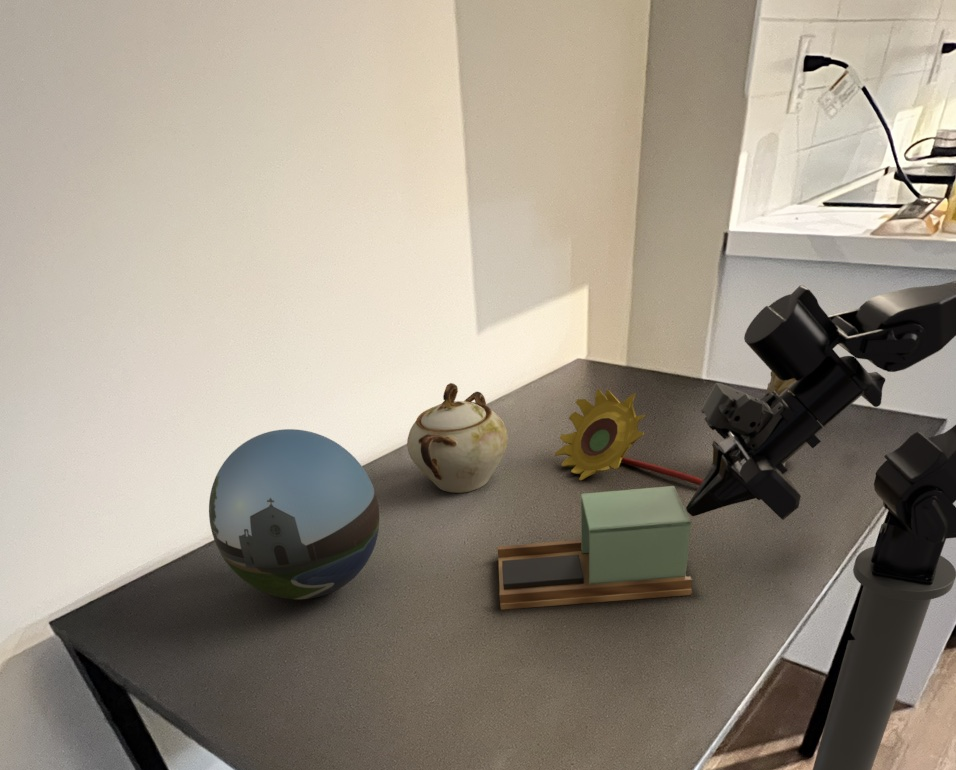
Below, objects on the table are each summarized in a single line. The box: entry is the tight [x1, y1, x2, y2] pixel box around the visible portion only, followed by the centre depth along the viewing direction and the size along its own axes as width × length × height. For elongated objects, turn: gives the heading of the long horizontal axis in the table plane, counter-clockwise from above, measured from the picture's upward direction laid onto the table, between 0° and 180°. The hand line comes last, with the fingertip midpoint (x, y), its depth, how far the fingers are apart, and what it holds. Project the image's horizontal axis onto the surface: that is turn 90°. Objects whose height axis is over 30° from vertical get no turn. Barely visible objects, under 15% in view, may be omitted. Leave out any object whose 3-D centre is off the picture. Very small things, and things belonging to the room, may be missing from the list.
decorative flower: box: [554, 388, 704, 486], centre depth 108 cm, size 13×8×30 cm
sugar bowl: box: [406, 382, 509, 494], centre depth 110 cm, size 20×15×15 cm
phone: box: [502, 555, 584, 590], centre depth 90 cm, size 10×6×1 cm, turn 90°
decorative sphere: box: [208, 428, 380, 600], centre depth 88 cm, size 20×20×20 cm
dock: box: [497, 539, 693, 611], centre depth 90 cm, size 22×12×2 cm, turn 90°
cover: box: [580, 485, 692, 584], centre depth 87 cm, size 11×9×8 cm
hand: (688, 512), depth 85 cm, fingers closed
